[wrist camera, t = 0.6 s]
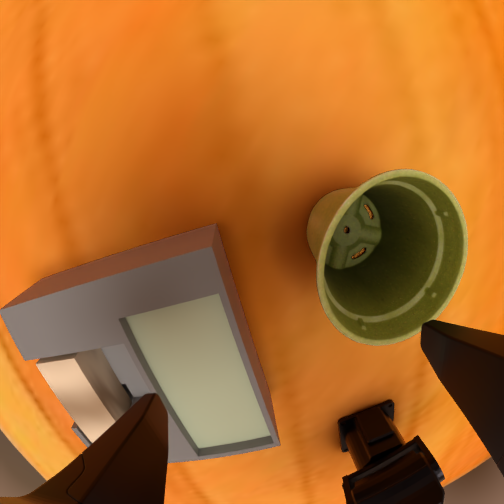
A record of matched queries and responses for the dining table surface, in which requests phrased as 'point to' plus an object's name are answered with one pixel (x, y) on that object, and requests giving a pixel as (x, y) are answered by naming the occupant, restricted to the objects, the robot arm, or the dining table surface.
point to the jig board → (160, 339)
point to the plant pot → (388, 255)
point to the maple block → (86, 389)
